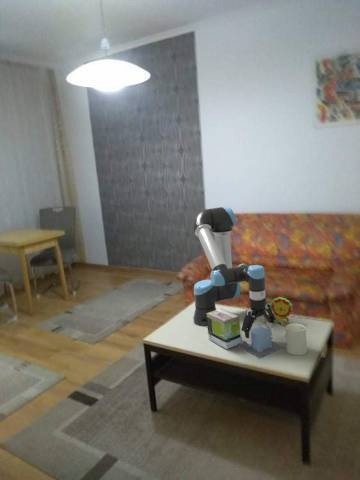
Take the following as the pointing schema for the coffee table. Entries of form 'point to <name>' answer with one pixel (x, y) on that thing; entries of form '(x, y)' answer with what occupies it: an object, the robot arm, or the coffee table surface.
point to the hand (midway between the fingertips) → (259, 339)
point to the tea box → (224, 328)
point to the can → (296, 339)
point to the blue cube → (260, 338)
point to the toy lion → (280, 310)
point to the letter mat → (262, 353)
